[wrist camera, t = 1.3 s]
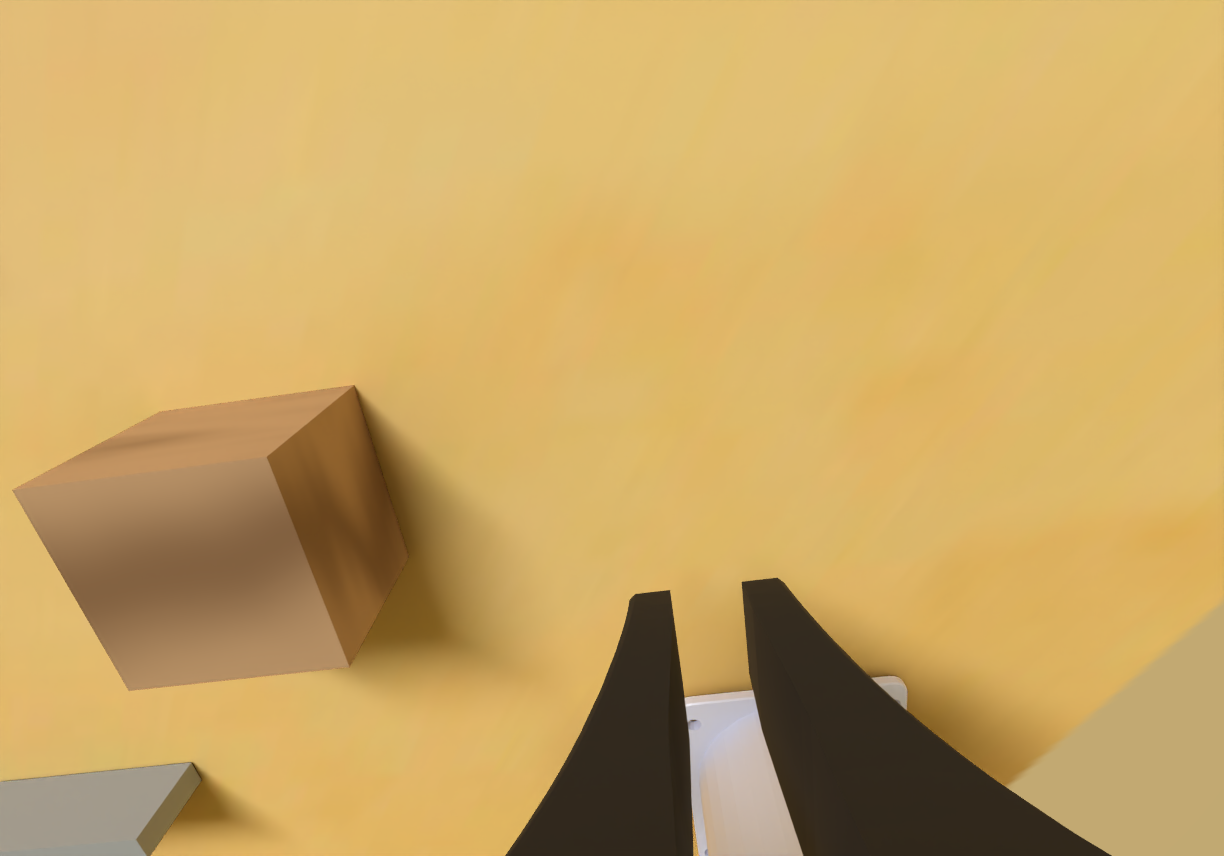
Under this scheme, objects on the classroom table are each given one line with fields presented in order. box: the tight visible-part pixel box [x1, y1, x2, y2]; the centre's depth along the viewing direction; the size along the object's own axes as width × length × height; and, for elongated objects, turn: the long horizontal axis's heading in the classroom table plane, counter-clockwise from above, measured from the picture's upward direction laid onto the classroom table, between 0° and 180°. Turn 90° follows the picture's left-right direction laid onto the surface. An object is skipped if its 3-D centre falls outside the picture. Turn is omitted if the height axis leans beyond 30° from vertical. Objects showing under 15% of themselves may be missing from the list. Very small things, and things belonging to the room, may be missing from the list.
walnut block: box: [12, 385, 409, 691], centre depth 17 cm, size 6×6×5 cm
